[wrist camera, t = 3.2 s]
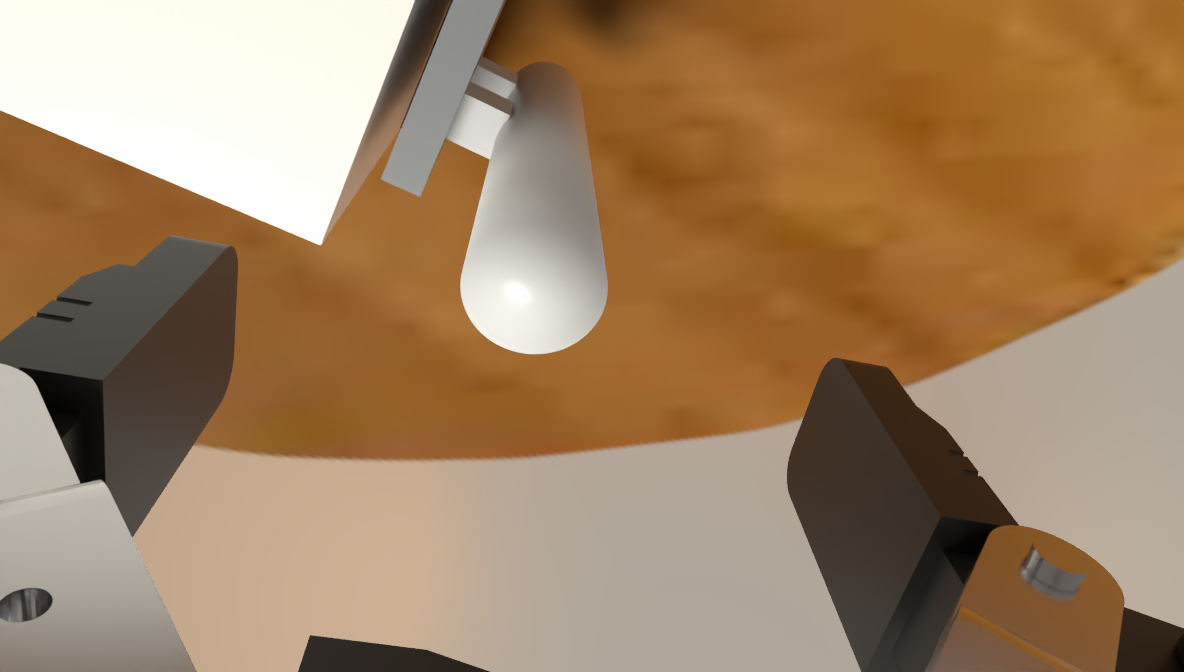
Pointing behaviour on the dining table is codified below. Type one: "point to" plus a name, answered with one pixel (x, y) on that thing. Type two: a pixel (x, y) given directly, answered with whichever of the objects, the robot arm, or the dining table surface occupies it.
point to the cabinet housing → (225, 91)
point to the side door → (512, 185)
